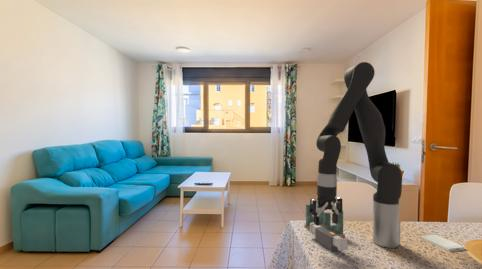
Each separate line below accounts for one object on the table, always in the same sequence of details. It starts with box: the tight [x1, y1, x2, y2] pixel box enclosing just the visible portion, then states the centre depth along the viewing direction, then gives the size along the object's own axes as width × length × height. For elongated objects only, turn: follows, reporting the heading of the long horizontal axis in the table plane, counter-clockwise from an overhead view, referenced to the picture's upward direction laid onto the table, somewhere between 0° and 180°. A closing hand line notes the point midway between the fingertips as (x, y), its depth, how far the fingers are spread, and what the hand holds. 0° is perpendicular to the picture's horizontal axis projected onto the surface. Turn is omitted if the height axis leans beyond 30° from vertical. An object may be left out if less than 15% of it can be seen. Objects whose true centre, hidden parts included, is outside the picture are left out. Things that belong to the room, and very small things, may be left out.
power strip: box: [309, 223, 348, 253], centre depth 103 cm, size 4×19×6 cm, turn 20°
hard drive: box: [420, 234, 465, 252], centre depth 105 cm, size 2×8×12 cm
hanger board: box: [304, 203, 346, 238], centre depth 117 cm, size 10×16×11 cm, turn 20°
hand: (325, 224), depth 103 cm, fingers open, 8 cm apart
